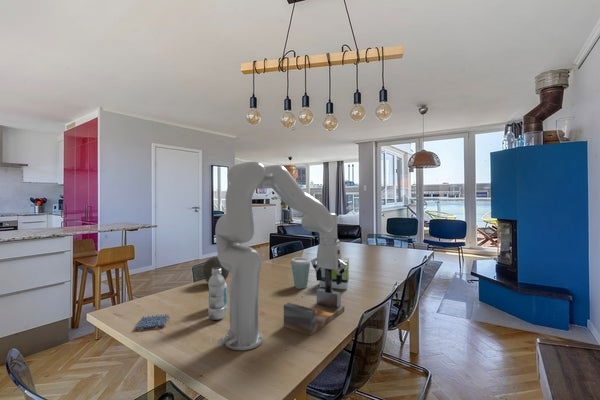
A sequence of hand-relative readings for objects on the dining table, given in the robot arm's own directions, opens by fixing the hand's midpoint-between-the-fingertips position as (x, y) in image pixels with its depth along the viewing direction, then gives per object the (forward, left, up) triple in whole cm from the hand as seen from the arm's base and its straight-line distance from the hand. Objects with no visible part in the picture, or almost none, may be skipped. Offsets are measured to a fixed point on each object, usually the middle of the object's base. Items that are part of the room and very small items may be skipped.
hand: (328, 281), depth 121 cm
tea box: (+31, +14, -12) cm, 36 cm away
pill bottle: (-26, +40, -12) cm, 49 cm away
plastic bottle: (-33, +32, -12) cm, 48 cm away
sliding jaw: (0, 0, -10) cm, 10 cm away
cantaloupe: (-4, +69, -12) cm, 70 cm away
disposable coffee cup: (+19, +28, -12) cm, 36 cm away
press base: (-10, 0, -12) cm, 16 cm away
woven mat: (-50, +48, -13) cm, 71 cm away
